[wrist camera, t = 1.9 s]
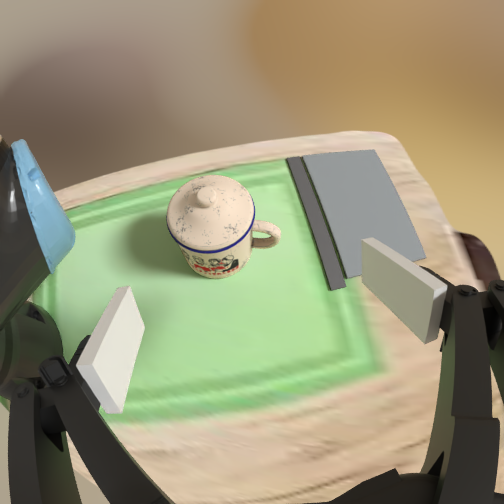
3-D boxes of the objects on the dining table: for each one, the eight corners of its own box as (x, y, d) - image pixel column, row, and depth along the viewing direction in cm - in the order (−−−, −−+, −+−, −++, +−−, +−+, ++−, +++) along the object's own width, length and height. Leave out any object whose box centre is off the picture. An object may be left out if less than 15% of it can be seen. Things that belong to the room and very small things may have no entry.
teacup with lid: (175, 275, 36) (145, 230, 25) (192, 212, 39) (174, 154, 29) (272, 290, 35) (281, 250, 24) (281, 224, 39) (291, 166, 28)
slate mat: (346, 278, 36) (347, 277, 35) (302, 157, 44) (302, 155, 43) (425, 258, 37) (426, 257, 36) (373, 151, 45) (374, 149, 44)
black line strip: (330, 290, 35) (331, 290, 35) (286, 159, 43) (286, 157, 43) (345, 287, 35) (346, 286, 35) (299, 157, 43) (299, 156, 43)
